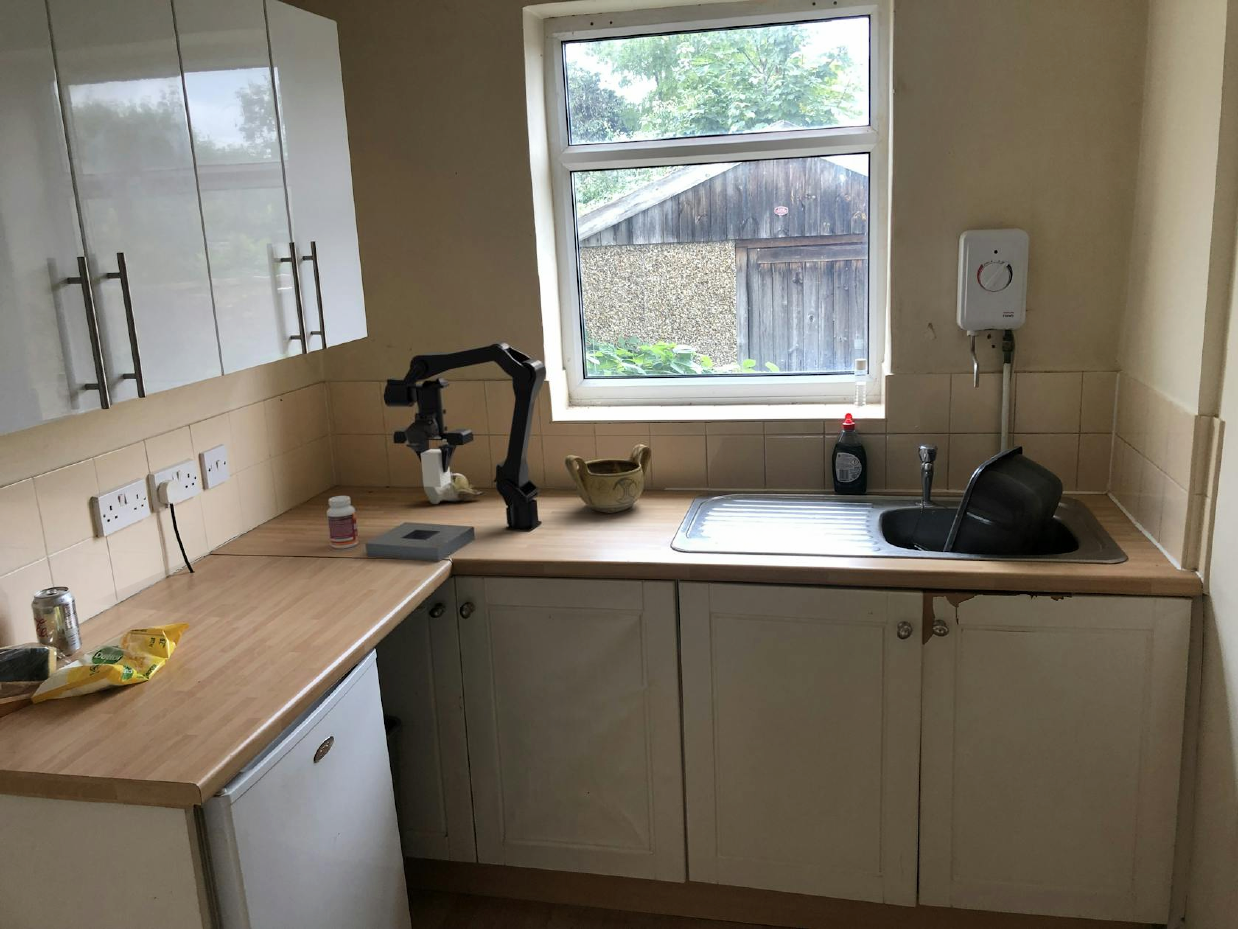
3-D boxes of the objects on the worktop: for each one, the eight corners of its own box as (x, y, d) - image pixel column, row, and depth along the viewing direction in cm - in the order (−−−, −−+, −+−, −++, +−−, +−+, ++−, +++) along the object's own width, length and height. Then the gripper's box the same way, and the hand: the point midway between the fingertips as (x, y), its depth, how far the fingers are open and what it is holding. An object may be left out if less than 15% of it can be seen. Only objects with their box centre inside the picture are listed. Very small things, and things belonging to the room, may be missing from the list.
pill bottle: (362, 545, 225) (357, 498, 223) (335, 551, 222) (330, 503, 219) (353, 539, 230) (348, 493, 228) (327, 544, 227) (321, 498, 224)
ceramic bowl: (587, 525, 231) (583, 462, 228) (554, 509, 246) (550, 450, 242) (667, 508, 242) (665, 448, 239) (632, 494, 257) (629, 437, 253)
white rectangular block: (450, 482, 237) (447, 449, 236) (440, 487, 233) (437, 454, 231) (433, 481, 239) (430, 449, 237) (423, 486, 235) (420, 453, 233)
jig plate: (475, 539, 225) (473, 526, 225) (438, 562, 211) (437, 548, 210) (406, 534, 232) (405, 522, 231) (366, 556, 217) (365, 543, 216)
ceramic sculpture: (417, 467, 259) (473, 463, 265) (418, 500, 261) (473, 494, 267) (427, 476, 250) (484, 471, 256) (428, 509, 252) (485, 504, 258)
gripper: (376, 412, 228) (383, 478, 231) (447, 414, 221) (453, 482, 225) (402, 404, 238) (409, 467, 241) (471, 405, 231) (477, 470, 235)
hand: (436, 471), depth 235 cm, fingers closed on white rectangular block, 5 cm apart
